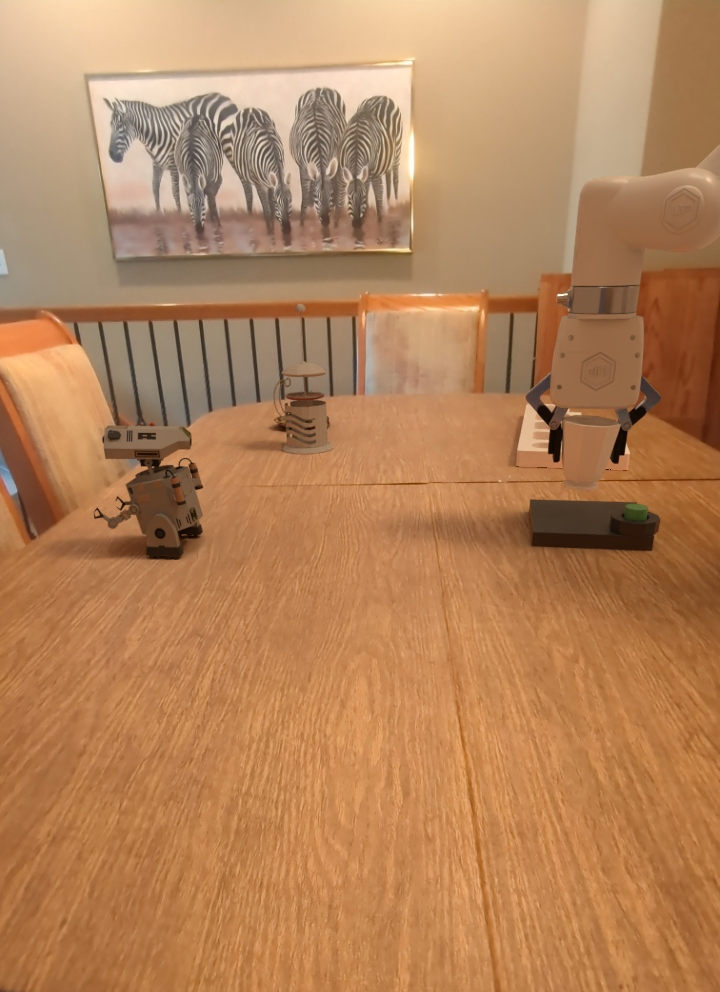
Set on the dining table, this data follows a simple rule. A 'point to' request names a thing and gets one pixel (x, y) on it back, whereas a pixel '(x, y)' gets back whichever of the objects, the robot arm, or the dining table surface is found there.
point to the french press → (304, 410)
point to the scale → (589, 525)
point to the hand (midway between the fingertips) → (584, 459)
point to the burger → (283, 422)
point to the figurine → (157, 486)
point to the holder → (537, 439)
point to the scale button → (636, 512)
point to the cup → (586, 449)
